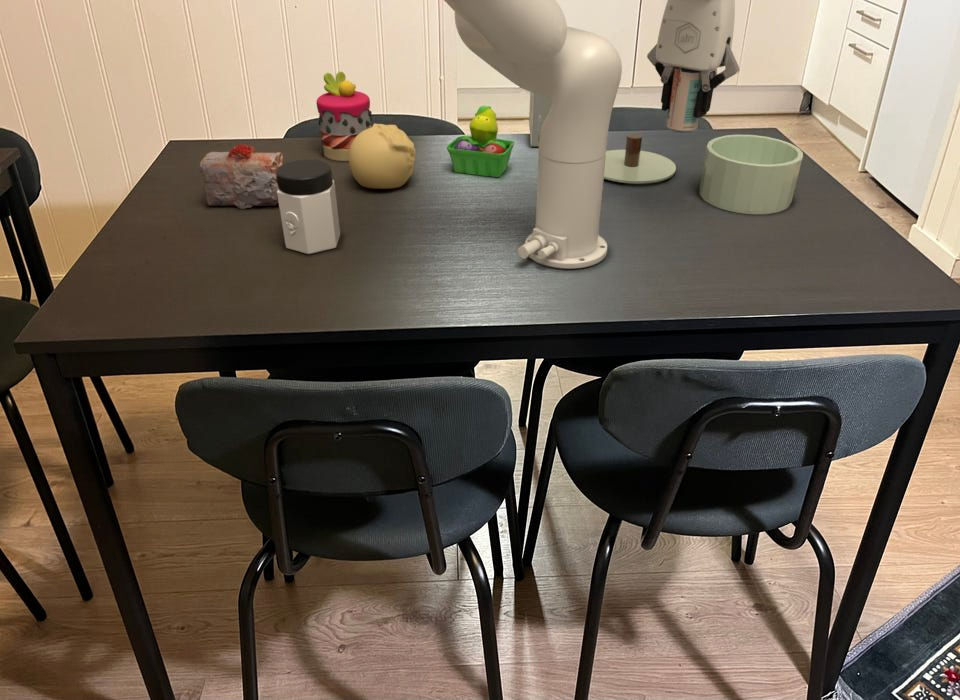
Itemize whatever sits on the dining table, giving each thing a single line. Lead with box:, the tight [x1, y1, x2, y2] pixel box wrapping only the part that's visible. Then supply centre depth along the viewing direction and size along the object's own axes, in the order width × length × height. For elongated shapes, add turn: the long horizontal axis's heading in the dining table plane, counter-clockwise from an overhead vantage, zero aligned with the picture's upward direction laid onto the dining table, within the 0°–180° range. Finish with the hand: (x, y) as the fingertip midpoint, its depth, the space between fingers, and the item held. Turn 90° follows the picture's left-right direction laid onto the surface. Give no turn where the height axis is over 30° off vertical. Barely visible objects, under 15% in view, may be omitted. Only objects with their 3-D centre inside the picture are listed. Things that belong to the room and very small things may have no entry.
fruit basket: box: [446, 105, 515, 178], centre depth 141 cm, size 11×9×11 cm
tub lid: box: [604, 133, 677, 185], centre depth 142 cm, size 17×17×7 cm
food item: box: [199, 143, 284, 210], centre depth 129 cm, size 14×8×10 cm, turn 91°
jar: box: [276, 159, 341, 255], centre depth 115 cm, size 9×8×12 cm
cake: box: [316, 71, 373, 162], centre depth 148 cm, size 10×11×15 cm
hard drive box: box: [528, 92, 552, 147], centre depth 155 cm, size 16×8×20 cm, turn 179°
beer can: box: [665, 67, 702, 134], centre depth 115 cm, size 5×5×12 cm
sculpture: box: [348, 123, 417, 190], centre depth 136 cm, size 11×12×11 cm
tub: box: [698, 134, 804, 215], centre depth 131 cm, size 16×16×8 cm
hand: (684, 111), depth 117 cm, fingers closed on beer can, 4 cm apart
